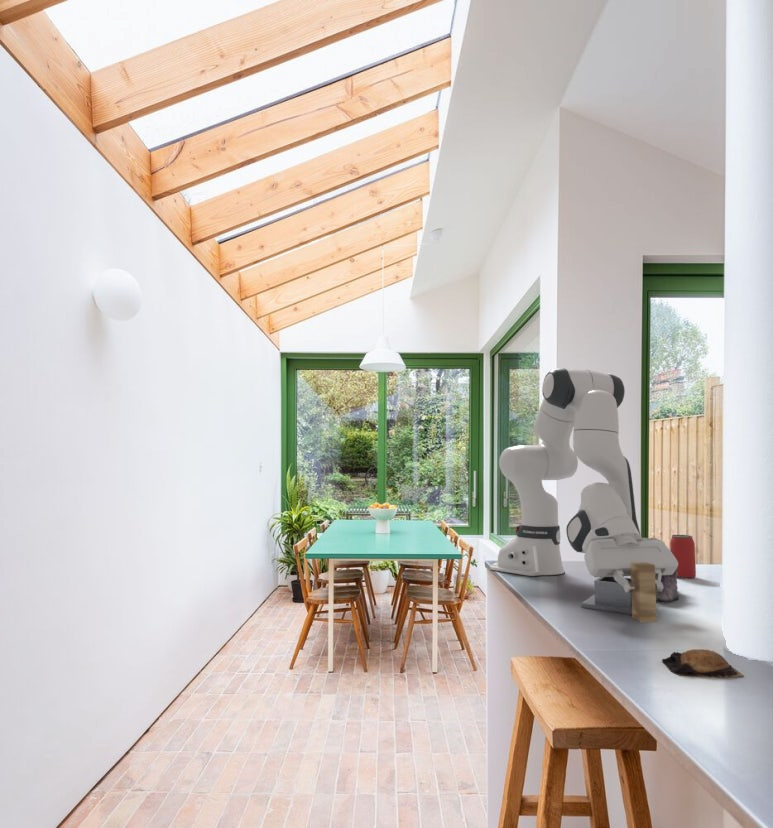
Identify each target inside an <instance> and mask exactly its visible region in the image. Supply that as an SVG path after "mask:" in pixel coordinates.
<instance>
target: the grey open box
mask: <svg viewBox="0 0 773 828" xmlns="http://www.w3.org/2000/svg"><path fill="white" fill-rule="evenodd" d="M624 578H625V579H626V580H628V581H631V577H624ZM593 582H594V583H593V584H594V593H593V595H591V596H590V597H588V598H587V599H585V600H584V601H582V602H581V608H584V609H589V610H590V609H591V610H599V611H605V612H606V611H607V612H612V613H619V614H621V613H622V614H628V615H632V592H625V590H624V588H623V586H621V585H620V584H619V583H618V582H617V581H615V579H614V577H597V578H596V579H595V580H594V581H593Z"/></svg>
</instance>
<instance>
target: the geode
mask: <svg viewBox="0 0 773 828" xmlns="http://www.w3.org/2000/svg"><path fill="white" fill-rule="evenodd" d="M661 583H662V585H663V590H662V591H657V592H656V603H659V604H660V603H663V604H669V603H672V602H675V601H678V600H679V594H678V590H679V588H678V585H677V584H678V578H677V569H676V570H675V572H674V573H673V574H672V575H662V576H661Z"/></svg>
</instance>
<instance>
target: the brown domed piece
mask: <svg viewBox="0 0 773 828" xmlns="http://www.w3.org/2000/svg"><path fill="white" fill-rule="evenodd" d="M661 660H662V661H661V663H662V664H663V665H664V666H665V667H666V668H668V671H669V672H671V673H672V674H676V675H677V676H679V677H687V678H689V677H691V678H692V677H693V678H711V679H712V678H717V679H719V678H720V679H721V678H722V679H726V678H729V679H730V678H744V677H745V675H744V674H743V673H741V672H740V671H739V670H737V669H735V668H734V667H733V666H732V665H731V664H730V663H729V662H728V661H727V660H726V658H725V657H724V656H723V655H721V654H720V653H718V652H716V651H714V650H710V649H700V648H699V649H698V648H697V649H689V650H686V651H683V652H678V651H677V652H675V651H673V652H672V653H671V654H670V656H669V657H666V658H662V659H661Z"/></svg>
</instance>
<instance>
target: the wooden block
mask: <svg viewBox="0 0 773 828" xmlns="http://www.w3.org/2000/svg"><path fill="white" fill-rule="evenodd" d="M630 578H631V581H632V583H633V586H634V587H635V589H634V591H633V592H632V614H631V615H632V617H631V618H632V619H633V620H636V621H637V622H639V623H657V602H656V589H655V565H653V564H650V563H646V562H635V563H631V576H630Z"/></svg>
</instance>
